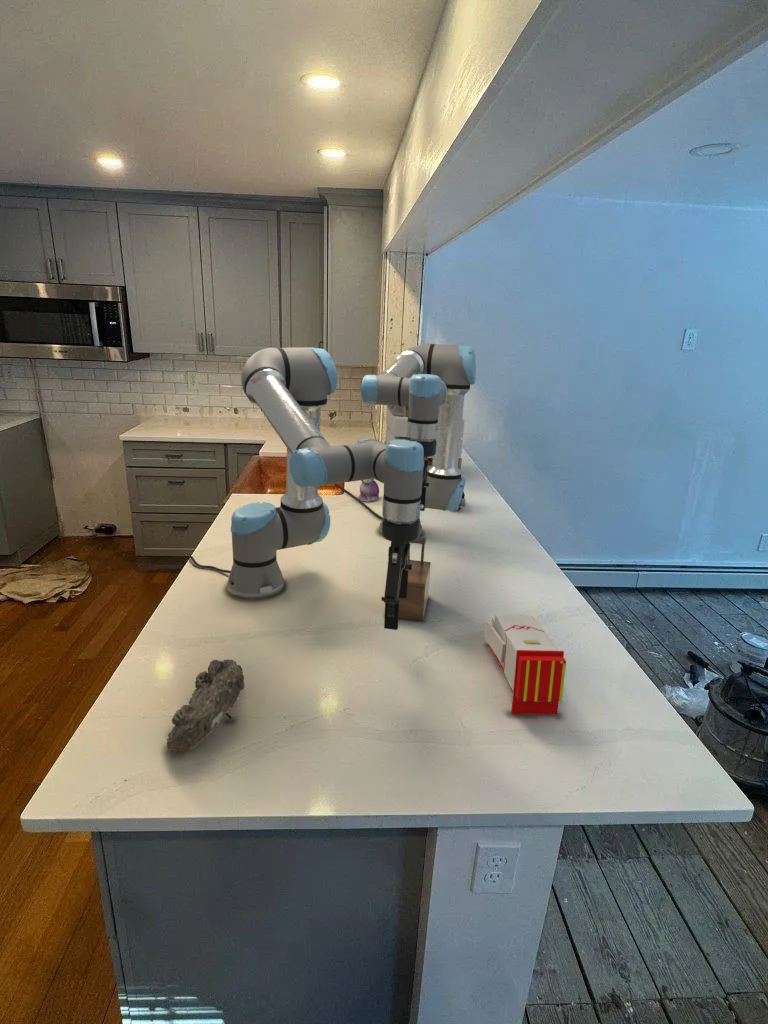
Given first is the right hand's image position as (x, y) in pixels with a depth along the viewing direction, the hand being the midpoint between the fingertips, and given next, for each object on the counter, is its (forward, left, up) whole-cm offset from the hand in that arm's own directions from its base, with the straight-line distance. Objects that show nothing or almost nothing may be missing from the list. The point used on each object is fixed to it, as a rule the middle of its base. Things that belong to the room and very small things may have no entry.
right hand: (416, 518), depth 148 cm
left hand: (+21, -25, -9) cm, 34 cm away
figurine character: (-46, +67, -23) cm, 85 cm away
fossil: (+12, -63, -23) cm, 69 cm away
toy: (+39, -5, -23) cm, 46 cm away
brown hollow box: (+3, -4, -23) cm, 24 cm away
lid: (+3, -4, -14) cm, 15 cm away
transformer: (-90, +90, -23) cm, 129 cm away
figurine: (-73, +44, -23) cm, 88 cm away
